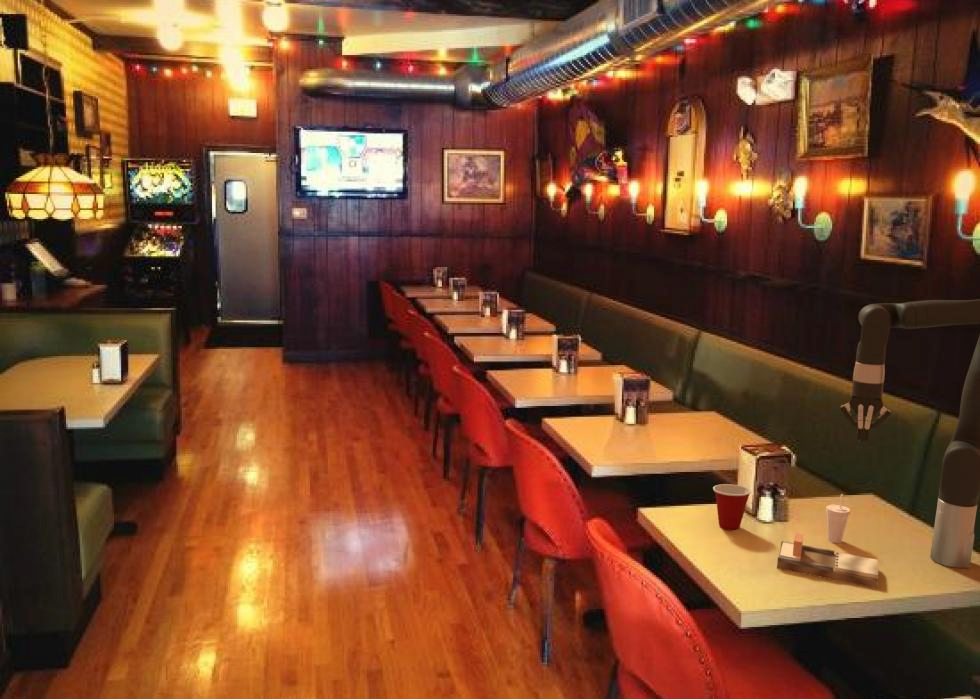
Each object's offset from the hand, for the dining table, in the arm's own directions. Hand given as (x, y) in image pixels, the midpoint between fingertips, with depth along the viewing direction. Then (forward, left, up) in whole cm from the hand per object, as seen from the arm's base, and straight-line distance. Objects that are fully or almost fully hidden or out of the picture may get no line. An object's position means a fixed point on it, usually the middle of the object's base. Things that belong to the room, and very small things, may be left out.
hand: (862, 441), depth 224 cm
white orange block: (+14, +16, -29) cm, 36 cm away
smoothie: (+4, -5, -32) cm, 32 cm away
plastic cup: (+33, -1, -32) cm, 46 cm away
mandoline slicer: (+5, +16, -32) cm, 36 cm away
